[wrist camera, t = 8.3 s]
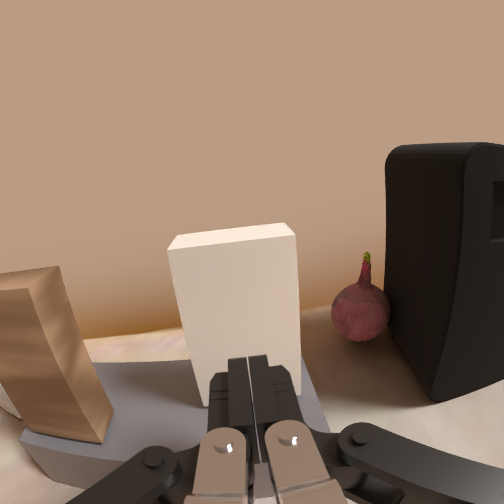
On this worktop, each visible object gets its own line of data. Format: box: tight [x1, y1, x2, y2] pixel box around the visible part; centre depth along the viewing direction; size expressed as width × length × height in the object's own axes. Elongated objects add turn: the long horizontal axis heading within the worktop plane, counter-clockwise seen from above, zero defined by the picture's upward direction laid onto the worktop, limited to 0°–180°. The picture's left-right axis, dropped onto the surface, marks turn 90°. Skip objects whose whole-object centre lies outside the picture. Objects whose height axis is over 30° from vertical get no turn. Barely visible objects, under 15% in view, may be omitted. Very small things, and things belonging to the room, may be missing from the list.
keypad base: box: [18, 355, 331, 498], centre depth 18 cm, size 10×20×5 cm, turn 95°
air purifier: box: [383, 142, 504, 401], centre depth 22 cm, size 20×15×20 cm
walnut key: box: [0, 266, 114, 444], centre depth 13 cm, size 3×6×10 cm, turn 95°
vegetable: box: [331, 252, 391, 342], centre depth 28 cm, size 6×6×10 cm
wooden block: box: [167, 223, 301, 406], centre depth 17 cm, size 3×6×10 cm, turn 95°
